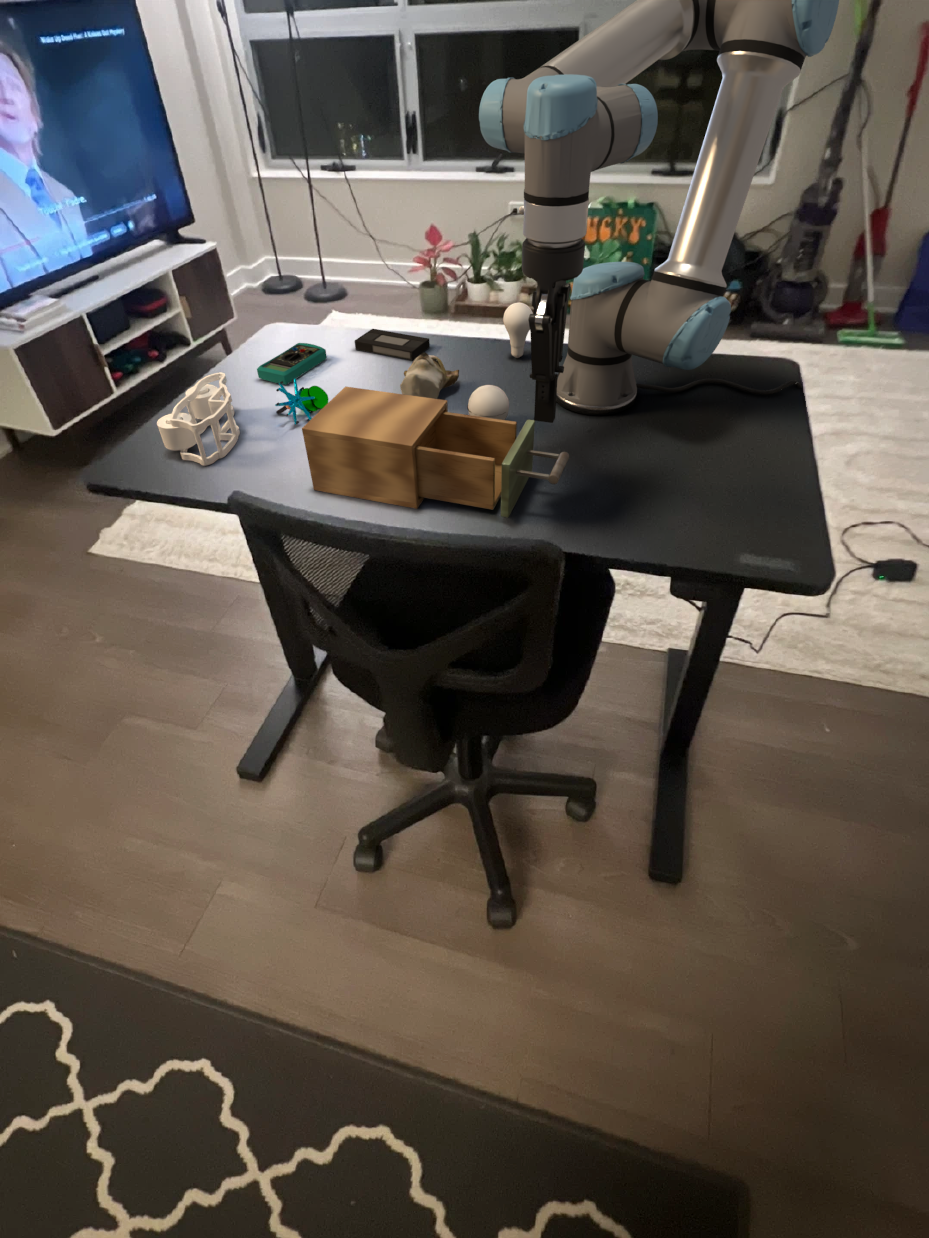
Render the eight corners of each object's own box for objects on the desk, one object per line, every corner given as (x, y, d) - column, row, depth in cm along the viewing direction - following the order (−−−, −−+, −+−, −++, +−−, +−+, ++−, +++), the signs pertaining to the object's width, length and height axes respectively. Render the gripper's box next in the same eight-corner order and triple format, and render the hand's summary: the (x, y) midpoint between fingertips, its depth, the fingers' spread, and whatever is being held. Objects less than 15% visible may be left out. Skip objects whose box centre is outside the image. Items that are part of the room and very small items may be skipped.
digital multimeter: (329, 359, 151) (327, 345, 149) (286, 387, 141) (283, 372, 139) (301, 353, 153) (299, 339, 151) (257, 380, 144) (254, 366, 142)
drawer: (571, 477, 113) (575, 426, 107) (550, 525, 103) (554, 472, 97) (436, 455, 118) (433, 405, 112) (404, 499, 109) (399, 447, 103)
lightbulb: (497, 354, 150) (498, 301, 143) (523, 349, 152) (525, 296, 144) (510, 365, 146) (511, 310, 139) (536, 360, 148) (539, 305, 140)
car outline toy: (205, 408, 135) (194, 371, 130) (260, 411, 134) (251, 373, 129) (157, 463, 121) (142, 423, 116) (218, 466, 119) (206, 427, 114)
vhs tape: (412, 361, 149) (412, 351, 147) (355, 350, 154) (353, 341, 152) (429, 347, 154) (429, 338, 152) (373, 337, 159) (372, 328, 157)
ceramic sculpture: (385, 363, 127) (408, 336, 138) (388, 410, 132) (410, 380, 144) (443, 368, 125) (462, 340, 136) (444, 415, 130) (462, 385, 142)
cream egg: (475, 413, 131) (474, 375, 126) (513, 419, 129) (514, 380, 124) (457, 439, 124) (455, 399, 119) (497, 445, 122) (498, 405, 117)
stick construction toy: (291, 421, 126) (274, 379, 124) (269, 435, 130) (252, 394, 129) (339, 413, 135) (323, 373, 133) (317, 427, 139) (301, 388, 138)
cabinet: (450, 461, 119) (447, 400, 112) (417, 509, 109) (411, 445, 101) (353, 445, 124) (345, 386, 116) (313, 490, 113) (301, 428, 106)
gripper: (536, 221, 90) (530, 395, 107) (508, 253, 82) (506, 438, 98) (595, 225, 89) (580, 402, 105) (573, 257, 80) (560, 445, 96)
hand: (544, 419), depth 101 cm, fingers closed
